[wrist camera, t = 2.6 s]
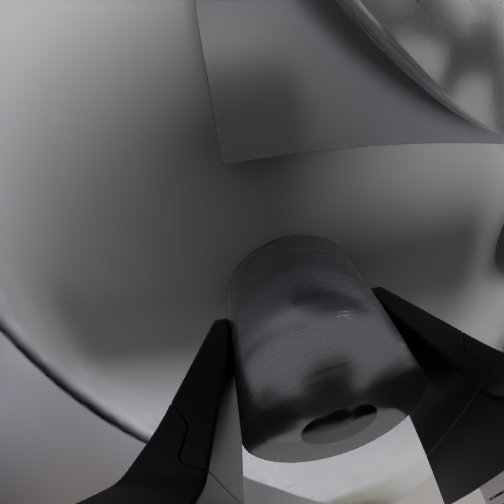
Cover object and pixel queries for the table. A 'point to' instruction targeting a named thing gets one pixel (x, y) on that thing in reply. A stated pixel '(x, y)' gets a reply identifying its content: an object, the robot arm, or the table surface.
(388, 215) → the table surface
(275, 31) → the scale
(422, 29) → the scale pan
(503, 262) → the cylinder
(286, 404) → the cylinder
